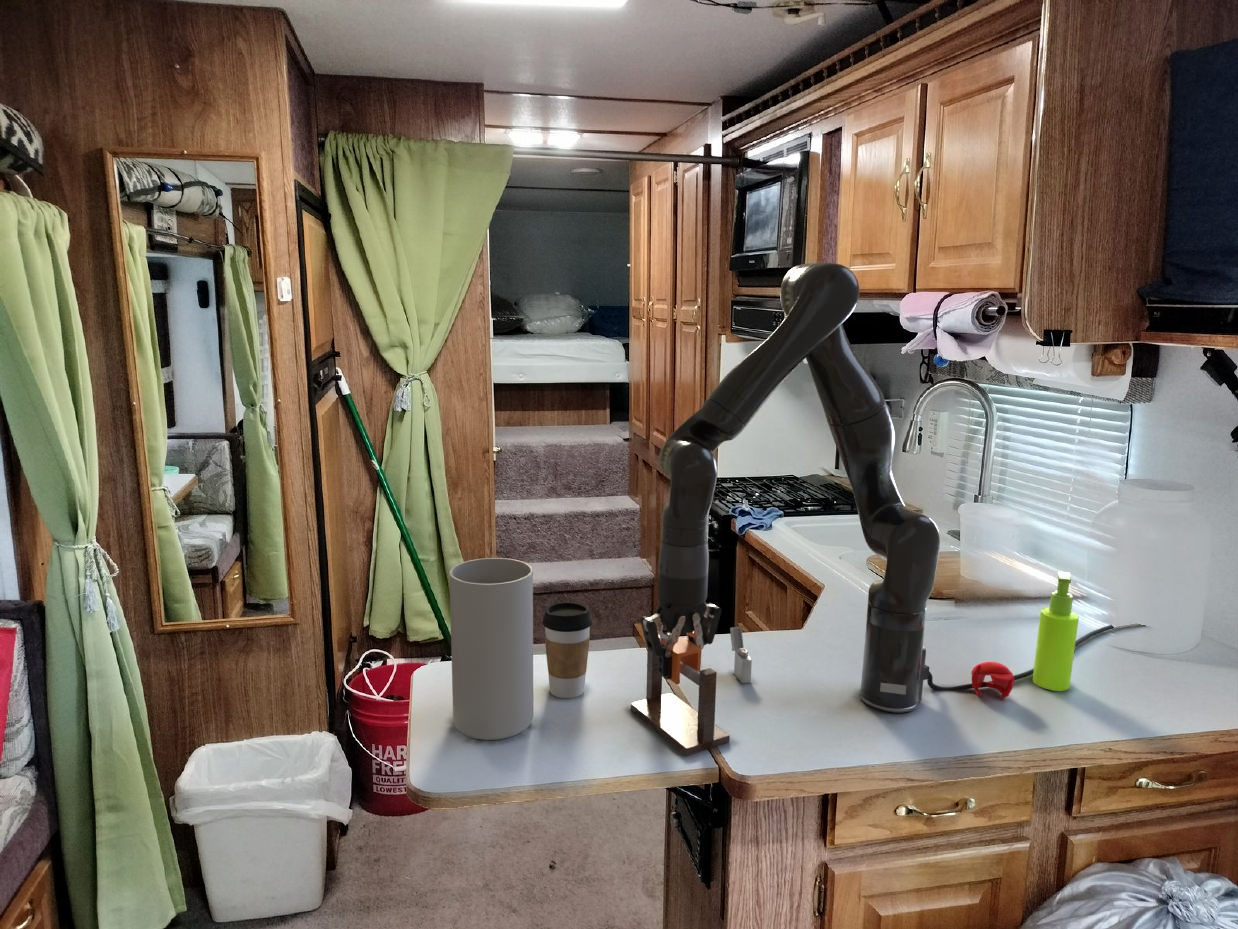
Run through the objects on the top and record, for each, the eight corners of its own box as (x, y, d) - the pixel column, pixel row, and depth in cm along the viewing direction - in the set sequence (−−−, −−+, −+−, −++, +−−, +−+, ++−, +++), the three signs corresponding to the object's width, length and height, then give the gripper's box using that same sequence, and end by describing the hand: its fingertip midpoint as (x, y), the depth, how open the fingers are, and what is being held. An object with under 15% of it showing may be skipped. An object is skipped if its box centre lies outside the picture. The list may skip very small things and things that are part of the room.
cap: (959, 687, 148) (962, 655, 147) (986, 682, 150) (989, 651, 149) (993, 708, 141) (997, 674, 140) (1021, 703, 143) (1025, 670, 142)
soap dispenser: (1068, 677, 152) (1082, 571, 148) (1070, 693, 146) (1084, 583, 142) (1032, 671, 155) (1045, 566, 151) (1032, 686, 149) (1046, 578, 145)
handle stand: (671, 698, 142) (673, 630, 140) (729, 742, 129) (733, 667, 126) (630, 709, 138) (631, 639, 136) (686, 756, 125) (688, 679, 122)
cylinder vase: (451, 706, 138) (447, 560, 133) (527, 699, 141) (527, 555, 136) (455, 746, 126) (451, 587, 121) (538, 737, 129) (538, 581, 124)
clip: (681, 666, 135) (682, 636, 134) (700, 678, 131) (701, 648, 130) (658, 672, 133) (659, 642, 132) (676, 684, 129) (677, 654, 128)
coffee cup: (554, 706, 139) (554, 620, 136) (534, 685, 146) (534, 602, 143) (600, 696, 143) (601, 611, 140) (579, 675, 150) (579, 595, 147)
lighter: (751, 682, 149) (753, 639, 147) (741, 683, 148) (743, 640, 147) (737, 665, 155) (739, 624, 154) (728, 666, 155) (729, 624, 153)
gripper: (657, 583, 122) (653, 694, 125) (736, 569, 129) (731, 674, 132) (630, 568, 128) (627, 674, 131) (707, 555, 135) (702, 656, 138)
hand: (679, 673), depth 132 cm, fingers closed on clip, 4 cm apart
